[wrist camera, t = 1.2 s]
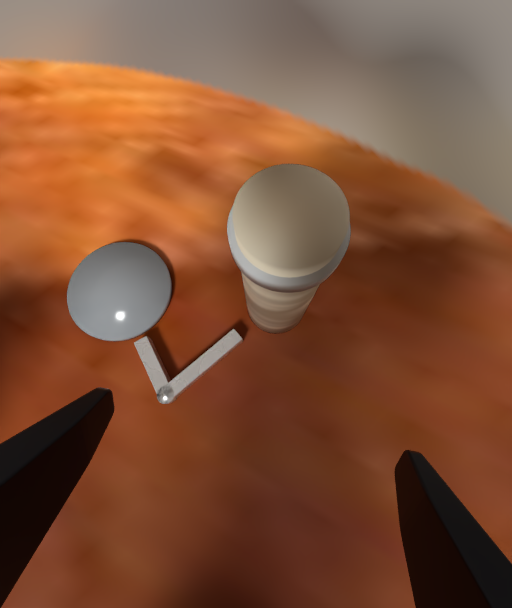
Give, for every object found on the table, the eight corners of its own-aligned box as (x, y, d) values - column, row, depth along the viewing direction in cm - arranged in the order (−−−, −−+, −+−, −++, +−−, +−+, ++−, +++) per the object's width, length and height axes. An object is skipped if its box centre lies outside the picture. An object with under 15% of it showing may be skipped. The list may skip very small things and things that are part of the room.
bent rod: (165, 406, 22) (161, 407, 21) (137, 345, 24) (132, 343, 23) (252, 357, 23) (251, 355, 22) (221, 301, 24) (219, 297, 24)
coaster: (92, 360, 23) (88, 360, 23) (56, 273, 25) (52, 270, 25) (189, 309, 24) (187, 307, 24) (147, 228, 26) (145, 225, 26)
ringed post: (263, 349, 23) (266, 300, 11) (232, 293, 25) (201, 191, 12) (320, 317, 24) (384, 235, 12) (287, 264, 25) (312, 138, 13)
